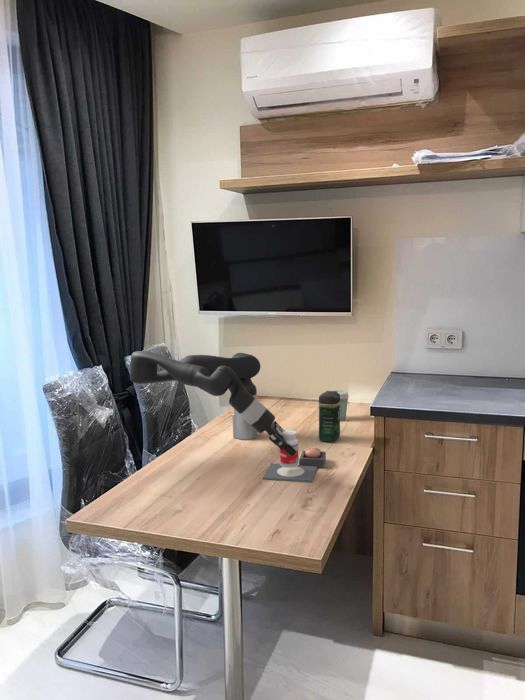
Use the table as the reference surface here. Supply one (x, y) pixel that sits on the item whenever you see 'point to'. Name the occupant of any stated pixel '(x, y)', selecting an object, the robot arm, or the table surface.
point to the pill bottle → (286, 458)
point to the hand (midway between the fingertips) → (294, 450)
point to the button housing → (313, 460)
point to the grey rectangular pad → (290, 473)
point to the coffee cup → (343, 404)
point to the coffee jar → (329, 416)
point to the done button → (312, 452)
